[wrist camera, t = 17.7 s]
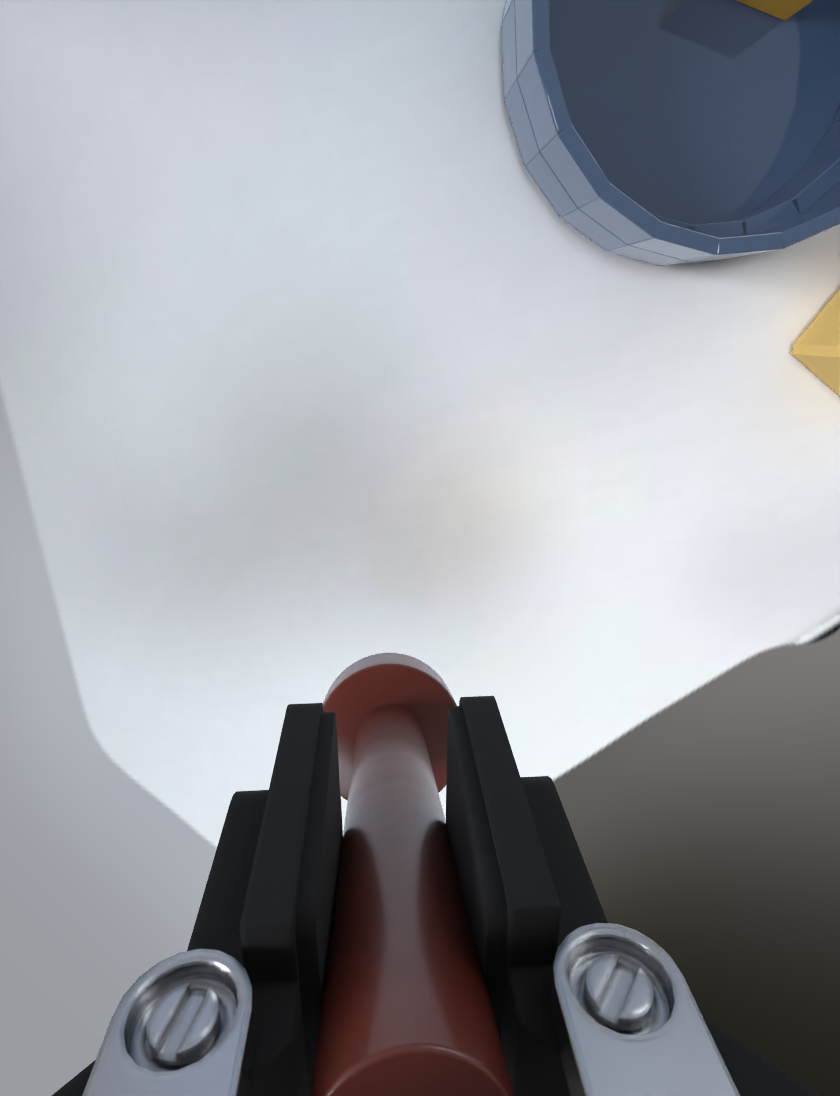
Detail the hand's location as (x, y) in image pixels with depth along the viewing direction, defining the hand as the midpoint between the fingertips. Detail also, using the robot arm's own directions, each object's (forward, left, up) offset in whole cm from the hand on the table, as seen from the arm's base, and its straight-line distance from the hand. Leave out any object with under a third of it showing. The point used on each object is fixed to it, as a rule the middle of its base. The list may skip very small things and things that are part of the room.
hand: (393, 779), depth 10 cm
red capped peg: (+2, -4, -8) cm, 9 cm away
